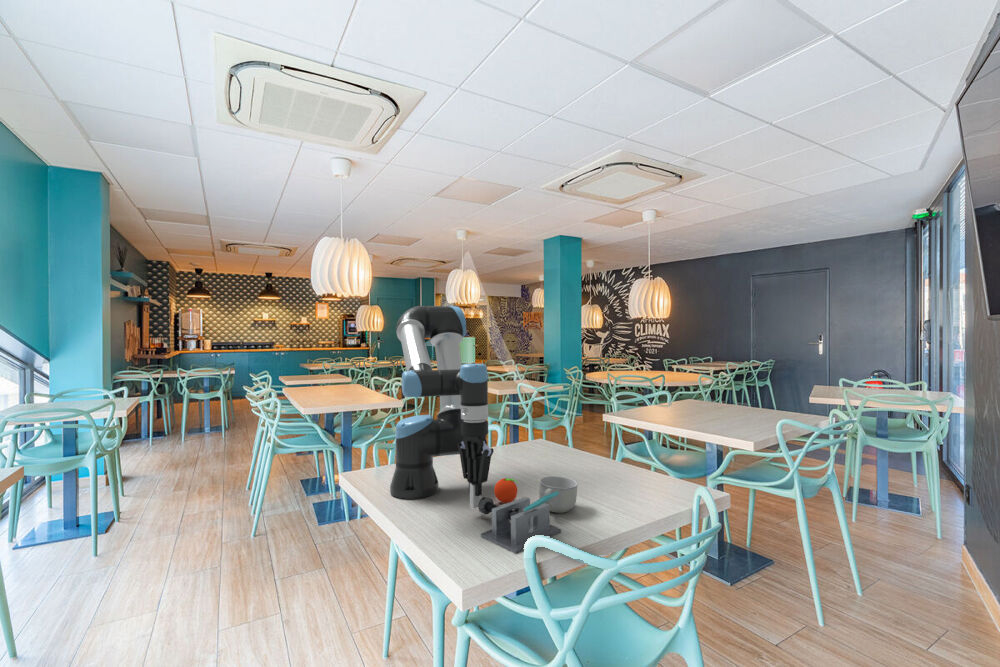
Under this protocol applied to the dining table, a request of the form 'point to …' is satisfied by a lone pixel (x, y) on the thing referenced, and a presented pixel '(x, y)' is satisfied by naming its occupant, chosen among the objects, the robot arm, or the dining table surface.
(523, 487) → the dining table surface
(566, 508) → the teacup
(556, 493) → the plate
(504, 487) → the clementine
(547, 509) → the bracket
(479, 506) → the pin
